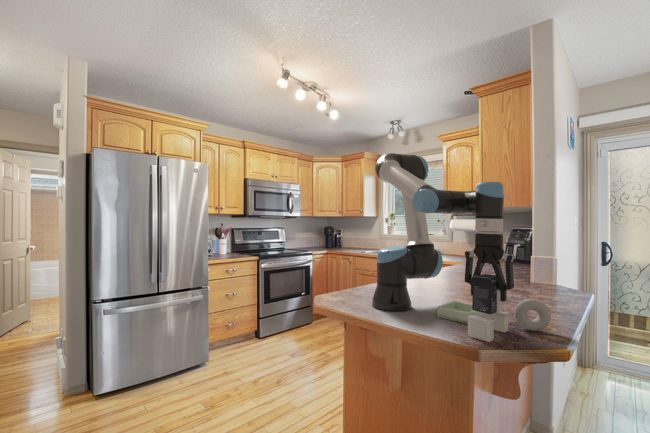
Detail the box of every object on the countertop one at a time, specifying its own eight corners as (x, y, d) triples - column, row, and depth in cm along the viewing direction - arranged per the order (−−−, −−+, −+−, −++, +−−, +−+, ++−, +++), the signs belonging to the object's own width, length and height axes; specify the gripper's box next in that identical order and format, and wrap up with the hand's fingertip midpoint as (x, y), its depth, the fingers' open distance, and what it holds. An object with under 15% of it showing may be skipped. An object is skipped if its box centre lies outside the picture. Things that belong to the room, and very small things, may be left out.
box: (490, 315, 89) (490, 278, 89) (471, 310, 93) (471, 275, 94) (503, 311, 93) (503, 276, 93) (485, 306, 98) (485, 273, 98)
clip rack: (466, 336, 90) (466, 317, 90) (487, 325, 100) (487, 307, 101) (489, 342, 85) (489, 322, 85) (509, 330, 96) (509, 312, 96)
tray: (437, 316, 109) (437, 306, 109) (454, 310, 118) (454, 300, 118) (468, 324, 101) (468, 313, 101) (484, 316, 109) (484, 306, 110)
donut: (516, 331, 95) (516, 298, 95) (512, 327, 98) (512, 296, 99) (553, 334, 93) (553, 301, 93) (547, 330, 96) (547, 298, 96)
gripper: (452, 231, 98) (451, 304, 98) (520, 234, 84) (519, 319, 84) (463, 231, 103) (462, 300, 103) (528, 234, 89) (527, 314, 89)
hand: (487, 309), depth 93 cm, fingers closed on box, 6 cm apart
